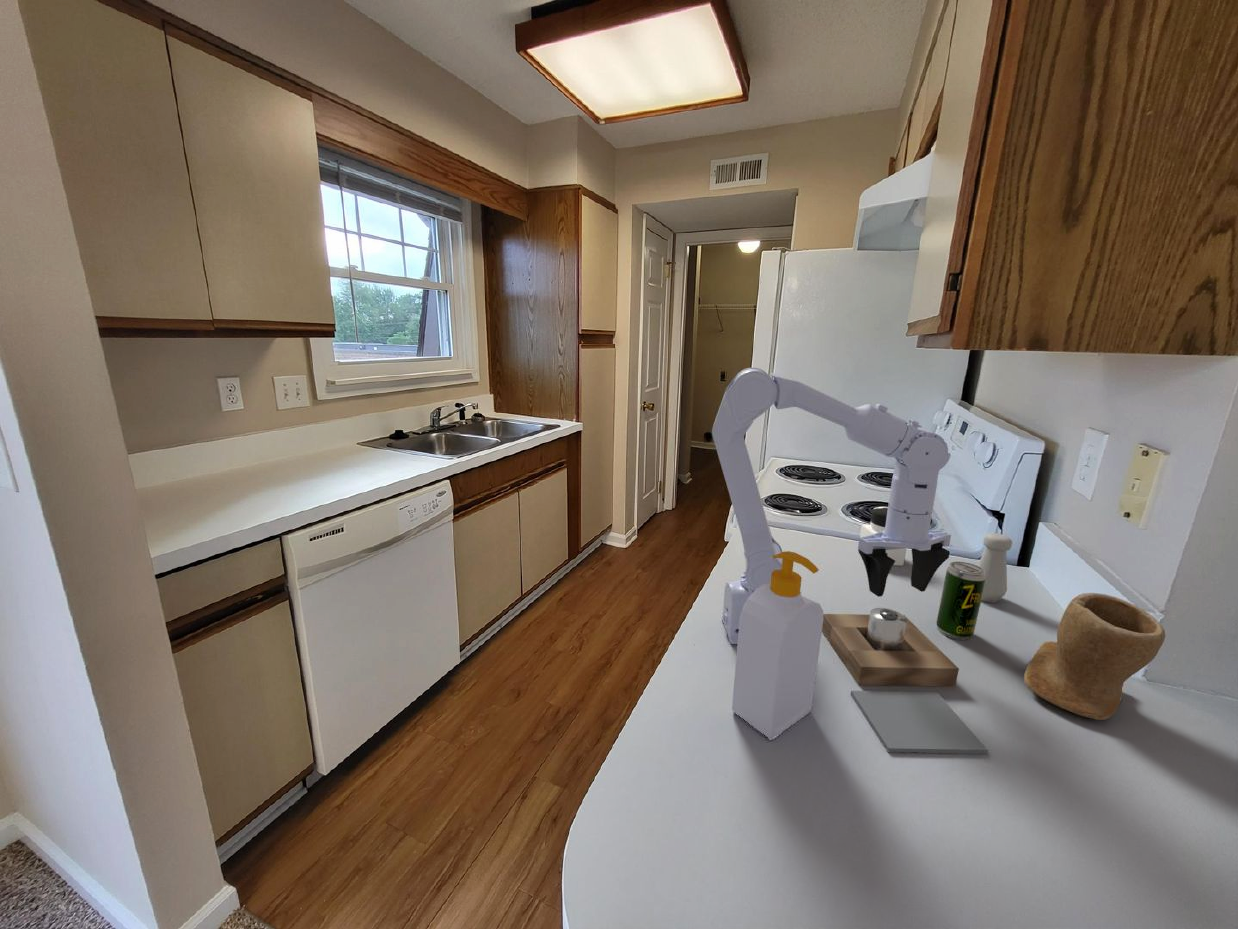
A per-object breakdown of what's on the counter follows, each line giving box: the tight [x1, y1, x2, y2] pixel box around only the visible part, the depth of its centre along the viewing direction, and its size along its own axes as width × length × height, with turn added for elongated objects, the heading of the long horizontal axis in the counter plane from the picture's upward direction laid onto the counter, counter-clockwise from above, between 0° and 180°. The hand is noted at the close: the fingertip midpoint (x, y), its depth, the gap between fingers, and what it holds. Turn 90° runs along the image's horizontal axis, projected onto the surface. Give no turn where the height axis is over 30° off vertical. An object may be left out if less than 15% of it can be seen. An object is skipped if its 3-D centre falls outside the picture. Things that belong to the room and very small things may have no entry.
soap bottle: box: [731, 550, 824, 740], centre depth 62 cm, size 9×7×23 cm
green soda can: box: [936, 561, 986, 641], centre depth 83 cm, size 5×5×12 cm
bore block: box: [822, 613, 960, 687], centre depth 77 cm, size 14×14×3 cm
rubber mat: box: [850, 690, 989, 755], centre depth 64 cm, size 12×10×1 cm
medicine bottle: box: [857, 506, 907, 567], centre depth 111 cm, size 7×7×12 cm
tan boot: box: [1023, 592, 1166, 721], centre depth 68 cm, size 15×12×15 cm
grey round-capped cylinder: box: [866, 607, 907, 651], centre depth 77 cm, size 5×5×8 cm
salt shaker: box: [977, 532, 1013, 604], centre depth 95 cm, size 6×6×13 cm
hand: (897, 590), depth 77 cm, fingers open, 7 cm apart
